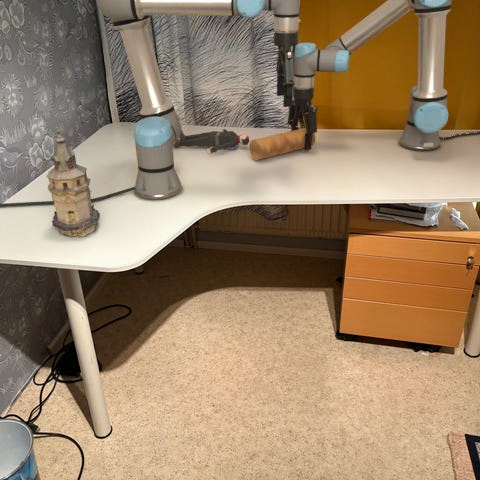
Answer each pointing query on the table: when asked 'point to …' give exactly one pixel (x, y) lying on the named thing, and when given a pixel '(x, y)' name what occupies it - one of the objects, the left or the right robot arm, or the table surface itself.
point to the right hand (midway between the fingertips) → (301, 146)
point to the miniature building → (70, 193)
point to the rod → (278, 143)
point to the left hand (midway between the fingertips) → (284, 100)
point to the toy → (213, 140)
